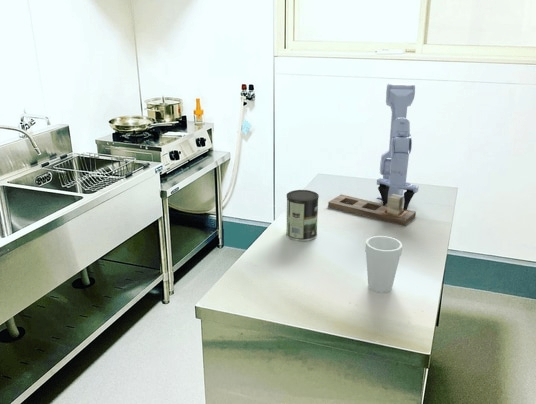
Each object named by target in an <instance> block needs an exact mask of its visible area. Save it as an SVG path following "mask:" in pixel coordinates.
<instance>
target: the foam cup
mask: <svg viewBox="0 0 536 404" xmlns="http://www.w3.org/2000/svg"><path fill="white" fill-rule="evenodd" d="M402 251H403V243H402V241H400V240H399V239H397V238H394V237H391V236H385V235H375V236H371V237H368V238H367V239H366V240H365V250H364V252H365V256H366V257H365V258H366V259H365V260H366V271H367V272H366V273H367V286H368V289H369V290H371V291H373V292H376V293H381V294H384V293H389V292H390V291H392V289H393V285H394V281H395V277H396V273H397V271H398V266H399V262H400V258H401V256H402Z"/></svg>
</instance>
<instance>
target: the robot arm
mask: <svg viewBox="0 0 536 404" xmlns="http://www.w3.org/2000/svg"><path fill="white" fill-rule="evenodd" d="M415 94H416V85H415V83H391V82H389V83H387V84H386V92H385V95H386V96H385V104H386V106H388V107H390V110H391V117H390V118H391V120H390V133H389V148H388V150H387V151H385V152H384V153H382V154H381V156H380V157H381V158H380V165H379V174H380V175H382V177H380V178H379V177H378V178H377V179H376V185H377V186H378V187H377V189H378V192H379V195H377V199H379V200H381V201H382V204H383V206H385V205H388V197H389V196H390V195H392V194H396V195H401V196H404V197H403V207H402V209H403V210H404V211H406V210H408V208H409V205H410V202H411V201H412V199H413V197H414V196H415V194H416V193H418V192H419V186H418V185H416V184H412V183H410V182H407V176H408V168H409V167H408V166H409V160H410V159H409V157H410V154H411V152H412V145H413V140H412V134H411V133H410V131H411V129H410V128H411V123H410V120H409V119H408V118H407V113H408V107H411V105H412V104H413V102H414V100H415Z"/></svg>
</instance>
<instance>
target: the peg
mask: <svg viewBox="0 0 536 404" xmlns="http://www.w3.org/2000/svg"><path fill="white" fill-rule="evenodd" d="M387 205H388V206H387V213H389V214H393V215H398V216H399V215H401V214H402V209H403V207H404V196H401V195H396V194H392V195H390V196H389V197H388V201H387Z"/></svg>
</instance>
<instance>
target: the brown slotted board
mask: <svg viewBox="0 0 536 404" xmlns="http://www.w3.org/2000/svg"><path fill="white" fill-rule="evenodd" d="M327 202H328V203H327V205H328V206H327V207H328V208H331V209H335V210H339V211H343V212H347V213H351V214H355V215H359V216H363V217H367V218H372V219H374V220H379V221H384V222H387V223H392V224H395V225H400V226H404V227H406V226H407V225H408V224H409V223H410V222H412V220H414V218H416V213H417V211H415V210H410V209H407V210H406V211H404V210H403V208H402V214H401V215H399V216H398V215H393V214H389V213H387V206H388V204H387V205H385V206H383V203H380V202H376V201H373V200H367V199H363V198H359V197H353V196H349V195H345V194H342V193H340V194H339V195H338V196H336V197H334V198H333V199H331V200H329V201H327Z"/></svg>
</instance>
